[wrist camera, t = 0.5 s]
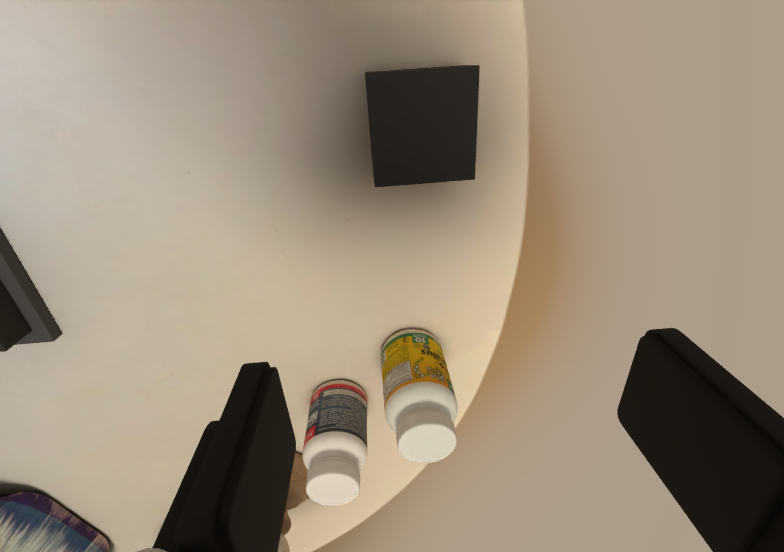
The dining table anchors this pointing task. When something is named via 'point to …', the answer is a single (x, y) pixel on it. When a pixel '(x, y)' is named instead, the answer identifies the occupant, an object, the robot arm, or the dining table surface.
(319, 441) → the pill bottle
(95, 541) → the handbag
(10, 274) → the base mat
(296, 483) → the candle holder
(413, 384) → the supplement bottle
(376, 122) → the pad
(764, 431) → the robot arm
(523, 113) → the dining table surface
